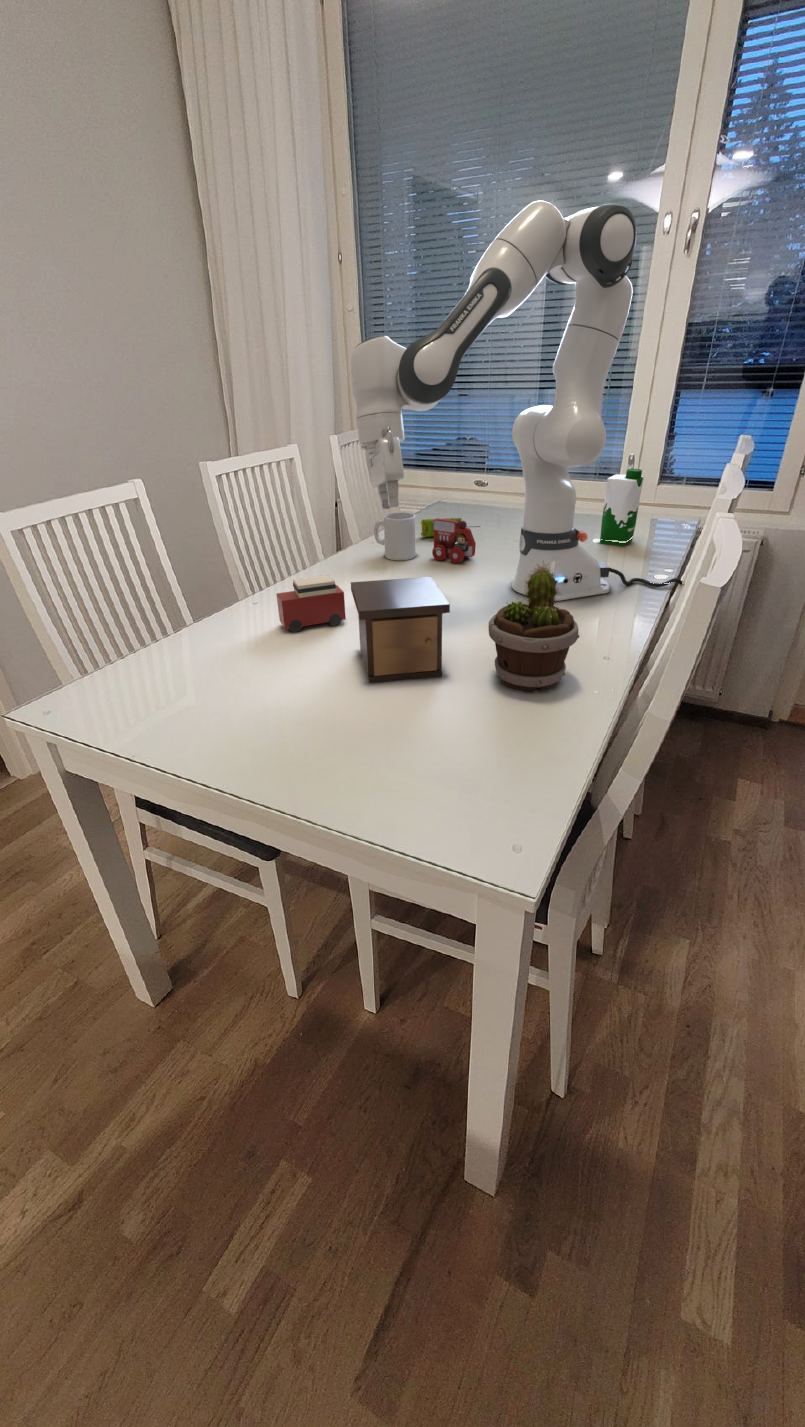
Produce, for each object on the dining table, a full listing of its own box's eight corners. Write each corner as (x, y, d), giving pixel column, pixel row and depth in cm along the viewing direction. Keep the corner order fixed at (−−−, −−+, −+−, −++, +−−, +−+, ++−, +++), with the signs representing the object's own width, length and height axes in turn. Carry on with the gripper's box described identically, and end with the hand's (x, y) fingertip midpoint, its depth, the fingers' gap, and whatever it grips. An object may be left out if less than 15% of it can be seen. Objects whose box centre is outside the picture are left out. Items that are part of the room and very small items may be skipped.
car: (339, 615, 139) (335, 573, 135) (346, 624, 135) (343, 580, 130) (279, 624, 135) (274, 581, 131) (285, 634, 131) (280, 589, 126)
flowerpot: (555, 707, 103) (570, 586, 93) (470, 685, 110) (474, 571, 100) (585, 672, 113) (600, 561, 103) (505, 654, 120) (512, 548, 110)
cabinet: (430, 643, 125) (431, 576, 119) (449, 679, 112) (450, 605, 105) (354, 650, 123) (350, 582, 117) (363, 687, 110) (359, 612, 103)
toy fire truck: (467, 565, 169) (469, 525, 164) (426, 559, 175) (427, 520, 170) (479, 559, 174) (481, 520, 169) (439, 552, 180) (439, 514, 175)
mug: (420, 553, 179) (420, 513, 174) (407, 561, 173) (407, 520, 167) (382, 549, 184) (380, 510, 178) (368, 557, 177) (366, 516, 172)
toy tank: (419, 516, 196) (422, 516, 186) (480, 514, 197) (486, 514, 187) (419, 540, 198) (423, 541, 188) (480, 538, 199) (486, 539, 189)
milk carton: (626, 547, 181) (637, 473, 171) (595, 543, 186) (604, 470, 176) (636, 540, 187) (648, 468, 177) (606, 536, 192) (616, 465, 182)
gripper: (406, 422, 114) (415, 503, 118) (389, 439, 134) (397, 508, 138) (372, 426, 113) (381, 507, 117) (359, 442, 133) (368, 511, 137)
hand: (390, 508), depth 128 cm, fingers open, 8 cm apart
